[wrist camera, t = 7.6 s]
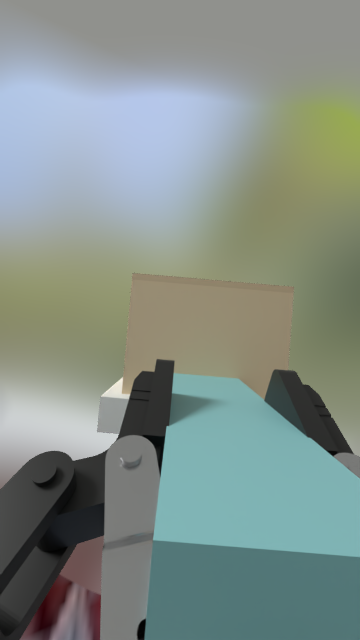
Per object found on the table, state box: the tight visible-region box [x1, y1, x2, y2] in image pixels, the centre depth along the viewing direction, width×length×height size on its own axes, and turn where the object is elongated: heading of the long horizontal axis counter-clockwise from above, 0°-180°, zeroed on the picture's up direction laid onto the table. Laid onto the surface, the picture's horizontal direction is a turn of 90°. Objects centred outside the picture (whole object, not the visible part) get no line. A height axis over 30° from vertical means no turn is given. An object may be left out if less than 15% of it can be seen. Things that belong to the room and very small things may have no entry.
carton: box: [122, 273, 360, 640], centre depth 15 cm, size 23×10×7 cm, turn 1°
